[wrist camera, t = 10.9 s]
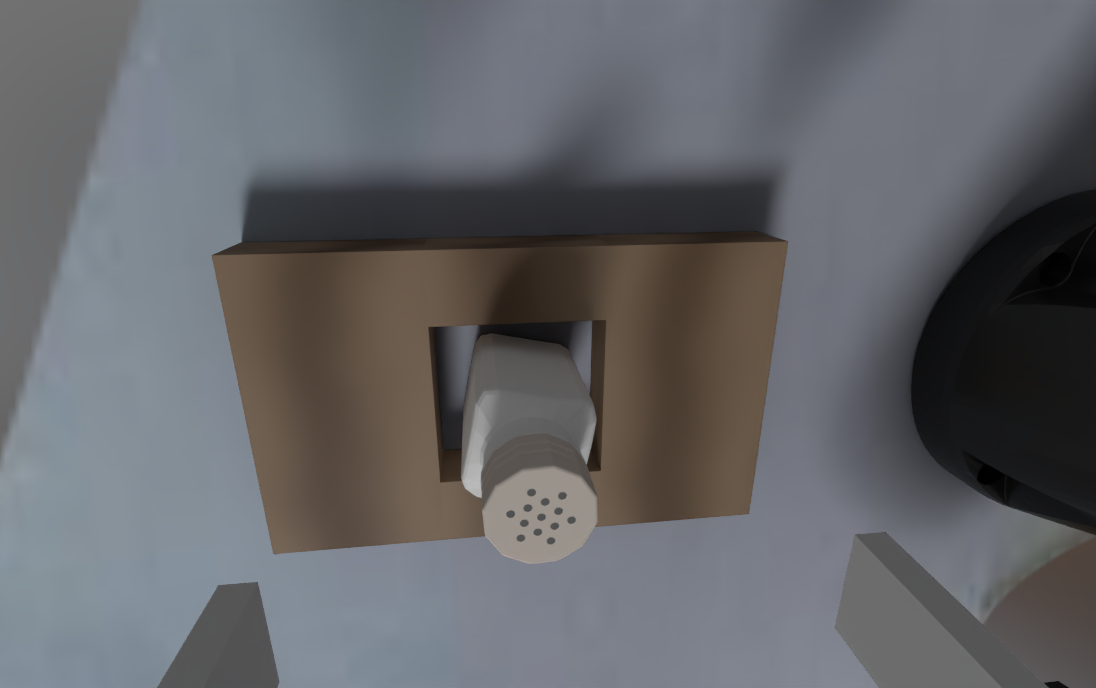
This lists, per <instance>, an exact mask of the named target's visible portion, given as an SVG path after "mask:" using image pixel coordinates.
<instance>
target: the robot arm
mask: <svg viewBox="0 0 1096 688" xmlns="http://www.w3.org/2000/svg"><path fill="white" fill-rule="evenodd" d="M911 393H912V409H913V415H914V420H915V424H916V427H917V431H918V433H919V435H920V438H921V440H922V442H923V444H924V446H925V447H926V449H927V450H928V452H929V453H930V454H931V456H932V457H933V458H934V459H935V460H936V461H937V462H938V463H939V464H940V465H941V466H942V467H943V468H945V469H946V470H947V471H949V472H950V473H951V474H953V475H954V476H956V477H957V478H959V479H960V480H962V481H963V482H965V483H966V484H967V485H969V486H970V487H972V488H973V489H975V490H976V491H978V492H979V493H981V494H982V495H984V496H986V497H988V498H990V499H992V500H994V501H996V502H998V503H1000V504H1002V505H1005V506H1008V507H1010V508H1013V509H1017V510H1020V511H1023V512H1026V513H1029V514H1032V515H1035V516H1038V517H1041V518H1044V519H1047V520H1050V521H1053V522H1056V523H1060V524H1063V525H1066V526H1069V527H1072V528H1075V529H1078V530H1081V531H1084V532H1087V533H1090V534H1093V535H1096V190H1091V191H1086V192H1082V193H1078V194H1074V195H1071V196H1068V197H1065V198H1062V199H1059V200H1057V201H1054V202H1052V203H1050V204H1048V205H1045V206H1043V207H1041V208H1039V209H1037V210H1035V211H1034V212H1032V213H1030V214H1028V215H1027V216H1025V217H1023V218H1022V219H1020V220H1018V221H1017V222H1015V223H1014V224H1013V225H1011V226H1010V227H1008V228H1007V229H1005V230H1004V231H1003V232H1002V233H1000V234H999V235H998V236H997V237H995V238H994V239H993V240H992V241H991V242H990V243H988V244H987V245H986V246H985V247H984V248H983V249H982V250H981V251H980V252H979V253H978V254H977V255H976V256H975V257H974V258H973V259H972V260H971V261H970V262H969V263H968V264H967V266H966V267H965V268H964V269H963V270H962V271H961V273H960V274H959V275H958V276H957V278H956V279H955V280H954V282H953V283H952V284H951V286H950V287H949V288H948V290H947V291H946V293H945V294H944V296H943V298H942V299H941V301H940V302H939V304H938V306H937V308H936V309H935V311H934V313H933V315H932V317H931V319H930V321H929V323H928V325H927V328H926V330H925V332H924V335H923V337H922V340H921V343H920V346H919V349H918V353H917V356H916V360H915V365H914V370H913V378H912V392H911ZM835 628H836V630H837V631H838V633H839V634H840V635H841V637H842V638H843V639H844V641H845V642H846V643H847V645H848V646H849V648H850V649H851V650H852V652H853V653H854V654H855V656H856V657H857V658H858V660H859V661H860V663H861V664H862V665H863V667H864V668H865V669H866V671H867V672H868V673H869V675H870V676H871V677H872V679H873V680H874V682H875V683H876V684H877V686H878V687H879V688H1068V687H1067V686H1065V685H1064V684H1062V683H1060V682H1059V681H1056V682H1048V683H1043V682H1042V681H1041V680H1040V679H1039V678H1038V677H1037V676H1036V675H1035V674H1034V673H1033V672H1032V671H1031V670H1030V669H1029V668H1028V667H1026V665H1024V664H1023V663H1022V662H1021V661H1020V660H1019V659H1018V658H1017V657H1016V656H1015V655H1014V654H1013V653H1012V652H1011V651H1010V650H1009V649H1007V647H1006V646H1004V645H1003V644H1002V643H1001V642H1000V641H999V640H998V639H997V638H996V637H995V636H994V635H993V634H992V633H991V632H990V631H989V630H988V629H987V628H986V627H985V626H984V625H983V624H981V623H980V622H979V621H978V620H977V619H976V618H975V617H974V616H973V615H972V614H971V613H970V612H969V611H968V610H967V609H966V608H965V607H964V606H963V605H962V604H961V603H959V602H958V601H957V600H956V599H955V598H954V597H953V596H952V595H951V594H950V593H949V592H948V591H947V590H946V589H945V588H944V587H943V586H942V585H941V584H940V583H938V582H937V581H936V580H935V579H934V578H933V577H932V576H931V575H930V574H929V573H928V572H927V571H926V570H925V569H924V568H923V567H922V566H921V565H920V564H919V563H918V562H916V561H915V560H914V559H913V558H912V557H911V556H910V555H909V554H908V553H907V552H906V551H905V550H904V549H903V548H902V547H901V546H900V545H899V544H898V543H897V542H896V541H894V540H893V539H892V538H891V537H890V536H889V535H888V534H887V533H886V532H881V533H869V534H856V535H855V536H854V540H853V545H852V550H851V554H850V559H849V564H848V568H847V573H846V578H845V582H844V587H843V592H842V596H841V601H840V606H839V610H838V615H837V619H836V624H835ZM278 684H279V678H278V673H277V668H276V664H275V659H274V655H273V650H272V645H271V641H270V636H269V632H268V627H267V622H266V618H265V613H264V608H263V604H262V599H261V595H260V590H259V585H258V582H253V583H240V584H228V585H218V587H217V589H216V590H215V592H214V594H213V595H212V597H211V599H210V600H209V602H208V604H207V605H206V607H205V609H204V610H203V612H202V614H201V615H200V617H199V619H198V620H197V622H196V624H195V625H194V627H193V629H192V630H191V632H190V634H189V635H188V637H187V639H186V640H185V642H184V644H183V645H182V647H181V649H180V651H179V652H178V654H177V656H176V657H175V659H174V661H173V662H172V664H171V666H170V667H169V669H168V671H167V672H166V674H165V676H164V677H163V679H162V681H161V682H160V684H159V686H158V687H157V688H277V687H278Z"/></svg>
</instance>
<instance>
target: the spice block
mask: <svg viewBox="0 0 1096 688" xmlns="http://www.w3.org/2000/svg"><path fill="white" fill-rule="evenodd" d="M787 246H788V241H785V240H782V239H779V238H776V237H772V236H769V235H766V234H763V233H760V232H757V231H746V232H700V233H654V234H608V235H562V236H516V237H470V238H424V239H377V240H331V241H285V242H241V243H239V244H236V245H234V246H232V247H230V248H227V249H225V250H223V251H221V252H218V253H216V254H214V255H212V259H213V264H214V269H215V273H216V278H217V283H218V288H219V293H220V298H221V302H222V307H223V312H224V317H225V322H226V327H227V332H228V336H229V341H230V346H231V351H232V356H233V361H234V365H235V370H236V375H237V380H238V385H239V390H240V395H241V399H242V404H243V409H244V414H245V419H246V424H247V428H248V433H249V438H250V443H251V448H252V453H253V458H254V462H255V467H256V472H257V477H258V482H259V487H260V492H261V496H262V501H263V506H264V511H265V516H266V521H267V525H268V530H269V535H270V540H271V545H272V550H273V554H280V553H292V552H303V551H315V550H327V549H339V548H351V547H363V546H375V545H386V544H398V543H410V542H422V541H434V540H446V539H458V538H469V537H481V536H485V533H484V524H483V515H482V498H480V497H476V496H475V495H473V494H472V493H471V492H469V491H468V490H466V489H465V487H464V485H463V482H462V479H461V464H462V449H455V450H443V440H442V426H441V413H440V399H439V386H438V372H437V359H436V345H435V332H434V327H440V326H465V325H490V324H515V323H540V322H565V321H590V320H592V350H591V387H590V397H591V399H592V402H593V404H594V408H595V413H596V417H597V420H596V426H595V431H594V436H593V441H592V445H591V449H590V454H589V458H588V462H587V467H588V470H589V473H590V476H591V479H592V482H593V484H594V487H595V490H596V493H597V499H598V522H597V524H596V526H595V527H600V526H612V525H624V524H635V523H647V522H659V521H671V520H683V519H695V518H707V517H718V516H730V515H742V514H749V510H750V503H751V496H752V489H753V482H754V475H755V468H756V461H757V455H758V448H759V441H760V434H761V427H762V420H763V413H764V406H765V399H766V392H767V385H768V378H769V371H770V364H771V357H772V350H773V343H774V336H775V329H776V322H777V315H778V308H779V301H780V295H781V288H782V281H783V274H784V267H785V260H786V253H787Z"/></svg>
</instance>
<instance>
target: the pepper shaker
mask: <svg viewBox="0 0 1096 688" xmlns="http://www.w3.org/2000/svg"><path fill="white" fill-rule="evenodd" d="M596 420H597V417H596V413H595V408H594V404H593V402H592V399H591V397H590V395H589V393H588V391H587V389H586V386H585V384H584V382H583V380H582V378H581V376H580V374H579V371H578V369H577V367H576V365H575V363H574V361H573V358H572V356H571V354H570V352H569V350H568V349H567V348H565V347H563V346H562V345H560V344H555V343H549V342H543V341H537V340H530V339H524V338H518V337H512V336H505V335H499V334H493V333H491V334H487V335H481V336H480V338H479V339H478V340H477V342H476V343H475V345H474V351H473V356H472V362H471V367H470V373H469V378H468V384H467V389H466V395H465V401H464V406H463V433H462V464H461V479H462V482H463V485H464V487H465V489H466V490H468V491H469V492H471V493H472V494H473V495H475V496H476V497H480V498H482V515H483V524H484V533H485V536H486V537H487V538H488V539H489V541H490V542H491V543H492V544H493V545H494V546H495V547H496V548H497V550H498V551H499V552H500V553H501V554H502V555H503V556H506V557H509V558H512V559H515V560H518V561H521V562H524V563H528V564H535V563H543V562H550V561H558V560H560V559H562V558H564V557H565V556H567V555H568V554H570V553H572V552H573V551H575V550H577V549H578V548H580V547H581V546H583V545H584V544H585V542H586V540H587V539H588V537H589V535H590V534H591V532H592V530H593V529H594V527H595V526H596V524H597V522H598V499H597V493H596V490H595V487H594V484H593V482H592V479H591V476H590V473H589V470H588V467H587V462H588V458H589V454H590V449H591V445H592V441H593V436H594V431H595V426H596Z"/></svg>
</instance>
